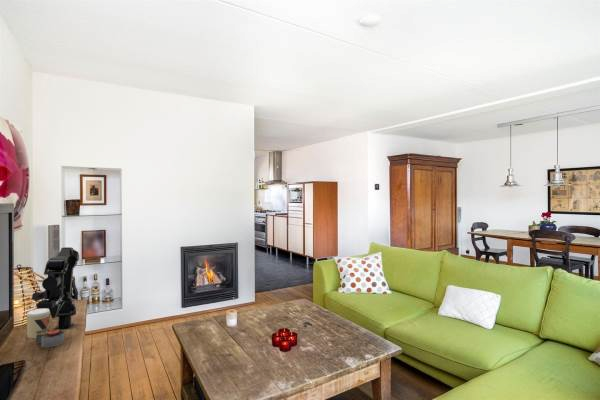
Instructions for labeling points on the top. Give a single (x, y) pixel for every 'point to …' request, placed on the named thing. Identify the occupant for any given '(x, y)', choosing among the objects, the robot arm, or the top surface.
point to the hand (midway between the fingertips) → (53, 317)
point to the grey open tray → (50, 339)
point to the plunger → (52, 331)
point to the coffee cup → (37, 322)
